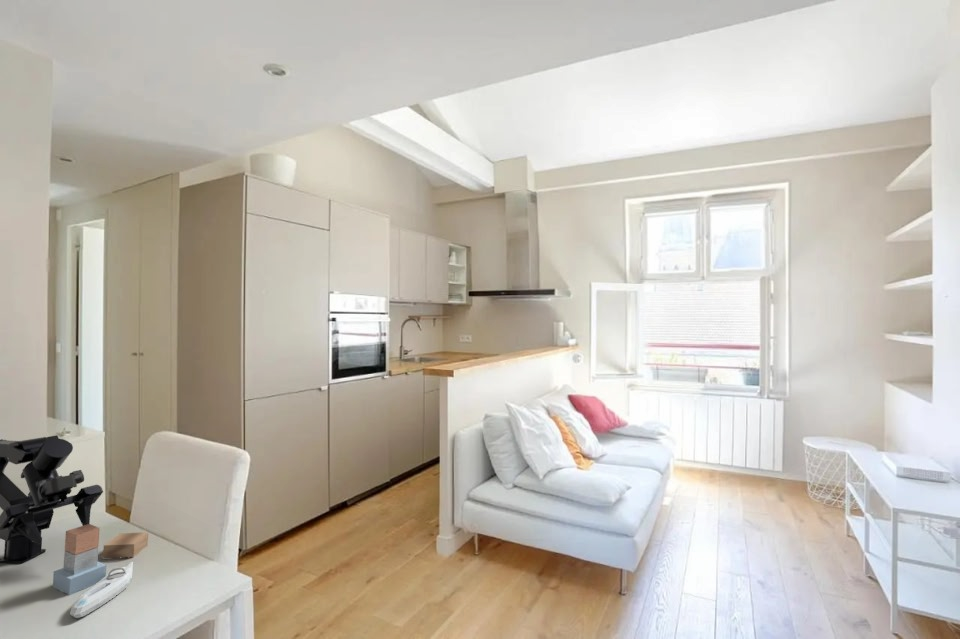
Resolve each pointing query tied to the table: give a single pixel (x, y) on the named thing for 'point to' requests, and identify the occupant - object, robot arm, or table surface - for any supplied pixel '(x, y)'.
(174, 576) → the table surface
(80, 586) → the stand
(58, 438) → the robot arm
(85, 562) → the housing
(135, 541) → the stand
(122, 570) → the spaceship
